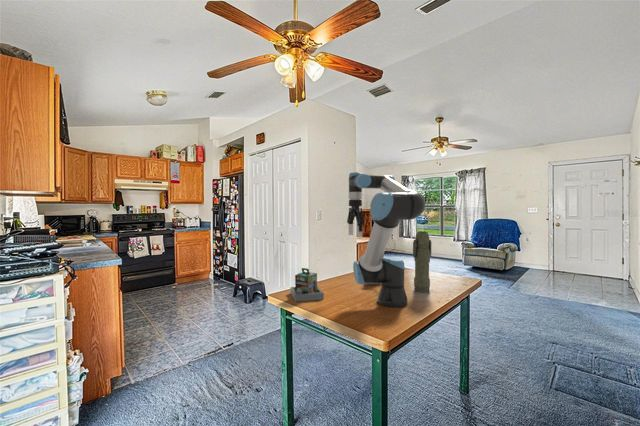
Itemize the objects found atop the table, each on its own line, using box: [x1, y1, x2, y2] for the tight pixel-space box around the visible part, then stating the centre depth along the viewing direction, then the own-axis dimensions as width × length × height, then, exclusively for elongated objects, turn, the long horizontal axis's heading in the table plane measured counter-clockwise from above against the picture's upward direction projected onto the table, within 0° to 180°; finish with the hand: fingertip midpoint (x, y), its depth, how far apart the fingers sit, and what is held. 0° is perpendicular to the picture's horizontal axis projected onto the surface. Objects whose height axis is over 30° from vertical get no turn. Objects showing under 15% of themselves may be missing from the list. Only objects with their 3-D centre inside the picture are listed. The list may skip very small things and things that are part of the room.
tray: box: [290, 285, 325, 303], centre depth 163 cm, size 15×15×4 cm
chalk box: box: [294, 267, 318, 294], centre depth 162 cm, size 9×9×15 cm
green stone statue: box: [412, 230, 432, 293], centre depth 174 cm, size 9×12×35 cm
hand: (355, 236), depth 169 cm, fingers open, 13 cm apart
